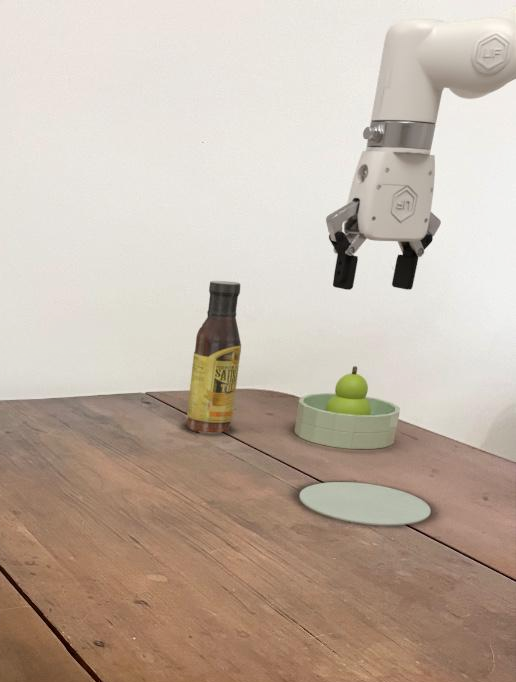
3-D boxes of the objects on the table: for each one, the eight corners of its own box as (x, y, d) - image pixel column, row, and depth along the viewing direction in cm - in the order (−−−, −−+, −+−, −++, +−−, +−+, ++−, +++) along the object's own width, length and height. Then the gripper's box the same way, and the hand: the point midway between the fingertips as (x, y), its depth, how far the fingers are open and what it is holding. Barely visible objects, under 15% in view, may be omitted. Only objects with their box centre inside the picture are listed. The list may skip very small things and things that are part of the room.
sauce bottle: (213, 439, 125) (230, 285, 116) (176, 429, 129) (189, 280, 120) (240, 431, 129) (257, 282, 121) (203, 422, 133) (217, 278, 125)
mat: (399, 485, 109) (400, 482, 109) (452, 527, 96) (453, 524, 96) (284, 484, 108) (284, 481, 107) (321, 526, 95) (322, 523, 95)
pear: (357, 430, 129) (369, 362, 125) (372, 442, 124) (385, 371, 120) (315, 429, 129) (326, 361, 125) (329, 441, 124) (340, 370, 119)
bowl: (372, 428, 133) (378, 394, 131) (408, 454, 121) (415, 417, 119) (282, 427, 132) (287, 392, 130) (310, 453, 120) (316, 415, 118)
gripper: (363, 135, 105) (337, 292, 112) (476, 144, 111) (444, 292, 119) (322, 136, 111) (299, 284, 118) (431, 144, 118) (403, 284, 125)
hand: (372, 288), depth 119 cm, fingers open, 9 cm apart
